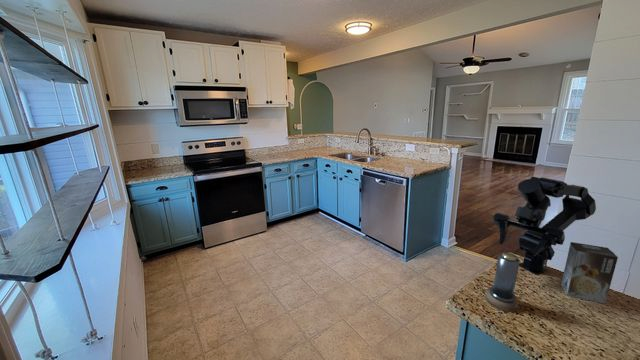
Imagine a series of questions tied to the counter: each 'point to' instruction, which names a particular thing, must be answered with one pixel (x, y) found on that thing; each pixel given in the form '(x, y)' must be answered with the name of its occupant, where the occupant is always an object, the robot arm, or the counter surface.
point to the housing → (505, 277)
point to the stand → (500, 304)
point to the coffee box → (588, 272)
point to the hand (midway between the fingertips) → (516, 249)
